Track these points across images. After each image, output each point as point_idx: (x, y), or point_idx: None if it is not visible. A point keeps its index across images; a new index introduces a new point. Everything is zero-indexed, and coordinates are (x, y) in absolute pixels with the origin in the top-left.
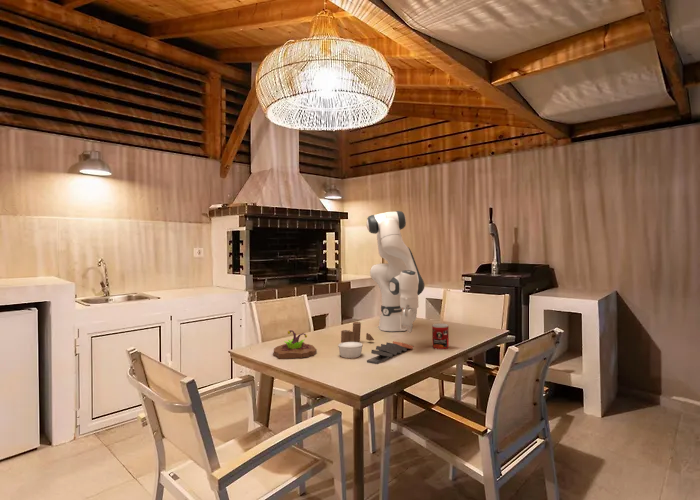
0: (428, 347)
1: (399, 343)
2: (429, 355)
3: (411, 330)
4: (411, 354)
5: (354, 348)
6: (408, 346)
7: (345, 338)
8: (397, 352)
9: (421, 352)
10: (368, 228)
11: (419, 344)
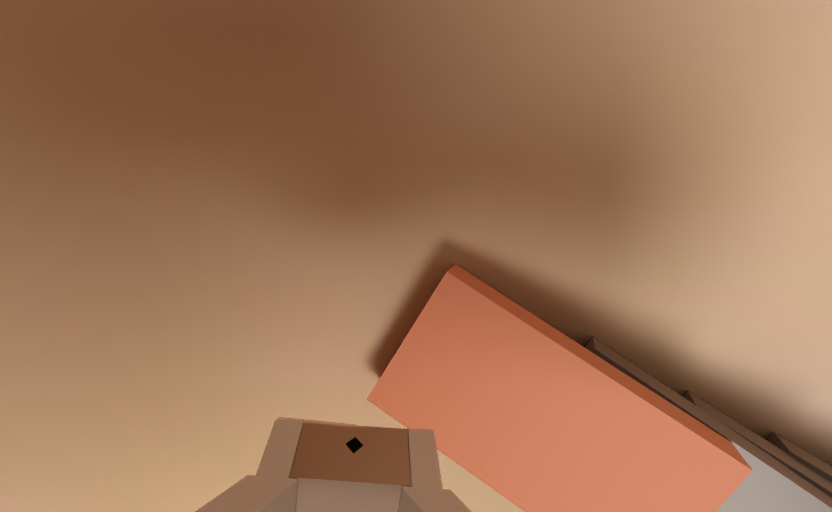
0: (296, 9)
1: (716, 494)
2: (817, 4)
3: (349, 443)
4: (737, 265)
5: None
6: (558, 337)
7: None
8: None
9: (634, 130)
10: None
11: (108, 166)
